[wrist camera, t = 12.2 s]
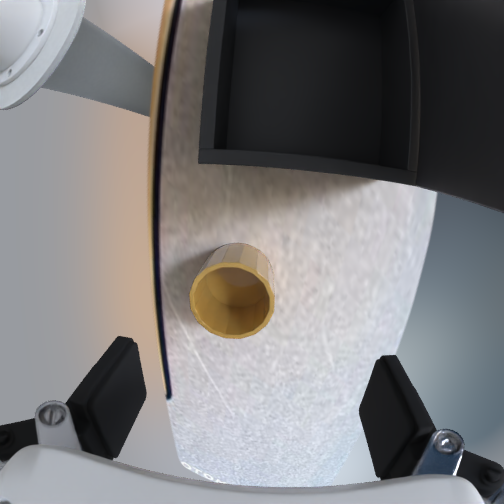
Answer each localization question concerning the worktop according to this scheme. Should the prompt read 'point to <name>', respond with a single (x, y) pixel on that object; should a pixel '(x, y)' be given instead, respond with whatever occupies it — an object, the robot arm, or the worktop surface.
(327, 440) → the worktop surface
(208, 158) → the dark grey storage bin
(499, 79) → the lid
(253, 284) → the cup
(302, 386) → the worktop surface
